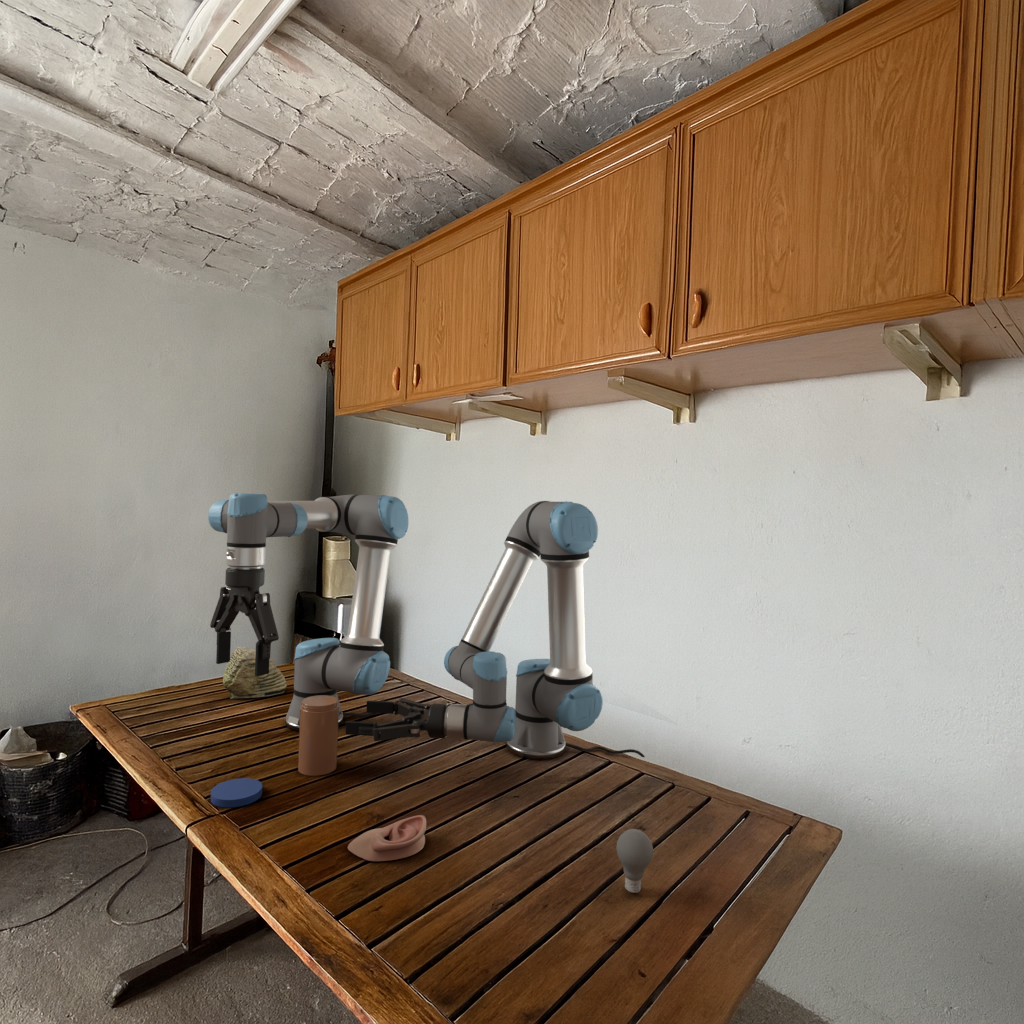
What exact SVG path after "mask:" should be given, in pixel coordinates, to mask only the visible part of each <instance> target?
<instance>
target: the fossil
mask: <svg viewBox="0 0 1024 1024" xmlns="http://www.w3.org/2000/svg"><path fill="white" fill-rule="evenodd" d="M255 657H256V648H251V647H247V646H246V647H245V646H238V647H237V648H236V649H235V650H233V651H232V653H231V654H230V662H226V666H225V668H224V671H223V675H222V676H223V677H222V685H223V687H224V688H225V690H226V691H228V693H229V698H230V699H250V698H264V697H271V696H275V695H281V694H284V693H285V691H286V689H287V687H288V686H287V680H286V678H285V676H284V674H283V673H282V672H281V669H279V668H278V667H277V665H276V663H275V662H274V660H273V659H272V658H271V657H270V659H269V674H265V675H261V676H255Z"/></svg>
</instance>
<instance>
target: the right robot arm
mask: <svg viewBox="0 0 1024 1024" xmlns="http://www.w3.org/2000/svg"><path fill="white" fill-rule="evenodd" d="M598 535H599V525H598V521H597V519H596V516H595V514H594V513H593V511H591V510H590V509H589V508H588V507H587V506H585V505H584V504H581V503H577V502H573V501H567V500H565V501H551V500H540V501H537V502H534V503H532V504H530V505H529V506H527V507H526V508H524V510H523V511H522V512H521V513H520V514H519V516H518V517H517V518H516V520H515V521H514V523H513V525H512V526H511V528H510V530H509V532H508V533H507V536H506V538H505V540H504V541H503V545H504V547H505V549H504V552H503V553H502V555H501V557H500V560H499V562H498V563H497V565H496V567H495V570H494V572H493V574H492V575H491V578H490V580H489V582H488V583H487V586H486V588H485V590H484V592H483V594H482V596H481V598H480V600H479V602H478V604H477V606H476V608H475V611H474V613H473V615H472V617H471V618H470V621H469V622H468V625H467V627H466V629H465V631H464V633H463V635H462V637H461V639H460V641H459V643H458V645H454V646H452V647H451V648H450V649H448V650H447V652H446V653H445V655H444V657H443V658H444V659H443V666H444V670H445V671H446V672H447V673H448V674H449V675H451V677H452V678H453V679H455V680H456V681H459V682H460V683H463V684H464V685H465V686H467V687H469V688H470V689H471V690H472V703H473V705H468V704H465V703H464V704H463V703H460V704H459V703H450V704H449V705H448V703H437V702H436V703H435V702H433V703H432V704H431V703H430V704H429V703H428V704H427V703H423V702H418V701H415V700H410V699H406V698H402V697H401V698H399V700H395V701H386V700H385V701H384V700H366V713H372V714H385V715H393V714H394V715H395V716H397V715H400V716H402V717H401V718H400V719H396V720H395V719H394V720H391V721H387V722H382V723H381V722H380V723H378V722H377V721H372V722H371V721H351V720H346V721H345V735H346V736H347V735H349V736H365V737H366V736H367V737H368V736H369V737H373V741H374V742H382V741H388V740H397V739H405V738H418V737H421V732H422V731H423V732H424V731H426V732H427V735H428V737H429V738H430V739H441V740H443V739H445V738H447V739H448V740H457V741H458V742H461V741H462V740H464V741H465V740H466V741H468V740H469V741H481V742H492V743H504V742H506V749H507V750H508V751H509V752H510V753H511V754H514V755H515V756H517V757H520V758H524V759H530V760H551V759H555V758H558V757H560V756H562V755H563V754H564V753H565V752H566V747H569V748H573V749H577V750H578V751H579V750H580V751H582V752H593V751H595V750H601V751H603V752H606V753H608V754H613V755H620V754H626V753H633V754H634V753H635V754H636V755H639V756H640V757H641V758H646V756H645V755H644V754H643V753H642V752H641V751H639V750H638V749H633V748H631V749H622V750H611V749H609V748H606V747H604V746H601V745H599V746H598V745H595V746H592V747H590V748H586V747H582V746H580V745H576V744H572V743H568V742H566V739H565V736H564V732H563V729H567V730H569V731H572V732H581V731H584V730H587V729H588V728H590V727H591V726H592V725H593V724H594V723H595V721H596V720H597V719H598V718H599V717H600V714H601V712H602V709H603V706H604V705H603V704H604V698H603V694H602V692H601V691H600V689H599V688H598V687H597V686H596V685H594V681H593V679H594V678H593V668H592V667H590V665H588V664H587V655H586V654H587V653H586V628H585V627H586V622H585V620H586V619H585V617H586V616H585V591H584V590H585V589H584V564H585V563H587V561H588V560H589V559H590V551H591V549H593V547H594V544H595V543H596V542H597V541H598V538H599V537H598ZM539 559H540V561H541V562H542V563H543V564H544V565H546V574H547V575H546V576H547V604H548V605H547V606H548V635H549V638H548V640H549V641H548V643H549V658H531V659H530V658H529V659H525V660H521V661H520V662H519V663H518V664H517V666H516V667H517V668H516V674H515V678H516V683H515V705H514V706H515V707H513V706H509V705H508V702H507V686H508V685H507V680H508V668H507V657H506V655H504V654H503V653H502V652H496V651H491V649H492V646H493V644H494V642H495V641H496V639H497V636H498V634H499V632H500V630H501V628H502V626H503V624H504V622H505V620H506V618H507V615H508V614H509V611H510V609H511V606H512V605H513V603H514V601H515V600H516V597H517V595H518V593H519V591H520V588H521V586H522V584H523V582H524V580H525V578H526V577H527V574H528V572H529V570H530V568H531V565H533V562H535V561H537V560H539Z"/></svg>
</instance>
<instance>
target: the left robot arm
mask: <svg viewBox="0 0 1024 1024" xmlns="http://www.w3.org/2000/svg"><path fill="white" fill-rule="evenodd" d="M207 514H208V515H207V517H208V523H209V526H210V527H211V528H212V529H213V531H215V532H219V533H224V534H226V553H225V556H226V561H225V564H226V566H229V567H227V568H226V569H225V576H224V577H225V578H224V579H225V581H224V582H225V583H224V584H225V586H221V587H220V589H219V598H218V600H217V603H216V607H215V609H214V612H213V615H212V619H211V621H210V624H209V627H210V629H214V631H215V633H216V657H215V664H217V665H221V664H227V662H230V657H231V644H232V627H231V626H232V625H233V623H234V621H235V619H236V618H237V617H238V614H239V613H241V614H244V615H245V616H246V617H248V619H249V623H250V625H251V627H252V629H253V631H254V633H255V636H256V638H257V641H256V642H255V649H256V657H255V676H261V675H265V674H269V659H270V658H271V650H272V649H271V648H272V643H273V642H276V641H279V639H280V637H279V633H278V628H277V625H276V621H275V617H274V612H273V610H272V609H273V608H272V605H271V594H270V593H269V592H265V593H261V592H260V588H261V587H263V586H264V585H265V577H266V576H265V575H266V570H265V568H264V566H265V565H266V557H267V556H266V555H267V553H266V551H267V538H281V537H282V538H283V537H284V538H285V537H286V538H291V537H295V536H299V535H301V534H302V533H303V532H305V530H314V529H315V530H316V531H318V532H322V533H325V532H326V533H327V532H331V533H338V534H342V535H350V536H354V543H356V544H357V546H358V556H357V562H356V563H357V564H356V569H355V577H354V578H355V579H354V584H353V591H352V599H351V606H350V607H351V608H350V614H349V621H348V627H347V634H346V635H345V636H344V637H343V638H342V639H341V640H339V638H337V637H321V638H313V639H307V640H304V641H302V642H299V643H298V644H297V645H296V647H295V652H294V653H295V654H294V657H293V660H294V661H293V662H294V668H293V669H294V670H293V695H292V696H293V697H292V699H291V702H290V704H289V708H288V711H287V713H286V715H285V726H286V728H287V729H289V730H291V731H294V732H295V731H296V732H299V726H300V707H301V704H302V700H303V699H305V698H307V697H311V696H317V695H328V696H333V697H336V698H337V699H338V704H339V721H338V727H339V726H340V725H342V723H343V722H344V716H345V717H347V716H348V717H357V718H361V717H362V718H363V717H368V716H370V715H372V714H373V713H367V712H363V713H362V712H361V713H357V712H346V711H345V712H343V709H342V706H341V702H340V699H339V695H338V691H340V692H347V693H352V694H354V695H358V696H359V695H363V696H364V695H366V696H370V695H374V694H376V693H377V692H379V691H380V690H381V689H382V687H383V685H384V684H385V683H386V681H387V679H388V676H389V674H390V670H391V660H390V656H389V654H388V653H386V652H385V651H384V649H385V644H384V642H383V640H382V639H381V638H380V635H381V628H382V621H383V612H384V605H385V597H386V589H387V582H388V577H389V568H390V559H391V553H392V551H393V550H394V549H395V548H397V546H398V540H400V539H403V538H404V537H405V536H406V533H407V531H409V530H408V529H409V513H408V510H407V507H406V505H405V503H404V501H402V499H400V497H399V498H398V497H396V496H392V495H384V494H343V495H335V496H321V497H317V498H316V499H314V500H268V496H267V495H266V494H264V493H255V492H254V493H253V492H252V493H248V492H233V493H231V494H230V495H229V498H228V499H226V500H225V499H221V500H217V501H215V502H214V503H213V504H211V506H210V508H209V509H208V513H207ZM467 705H473V702H472V703H468V704H467Z"/></svg>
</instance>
